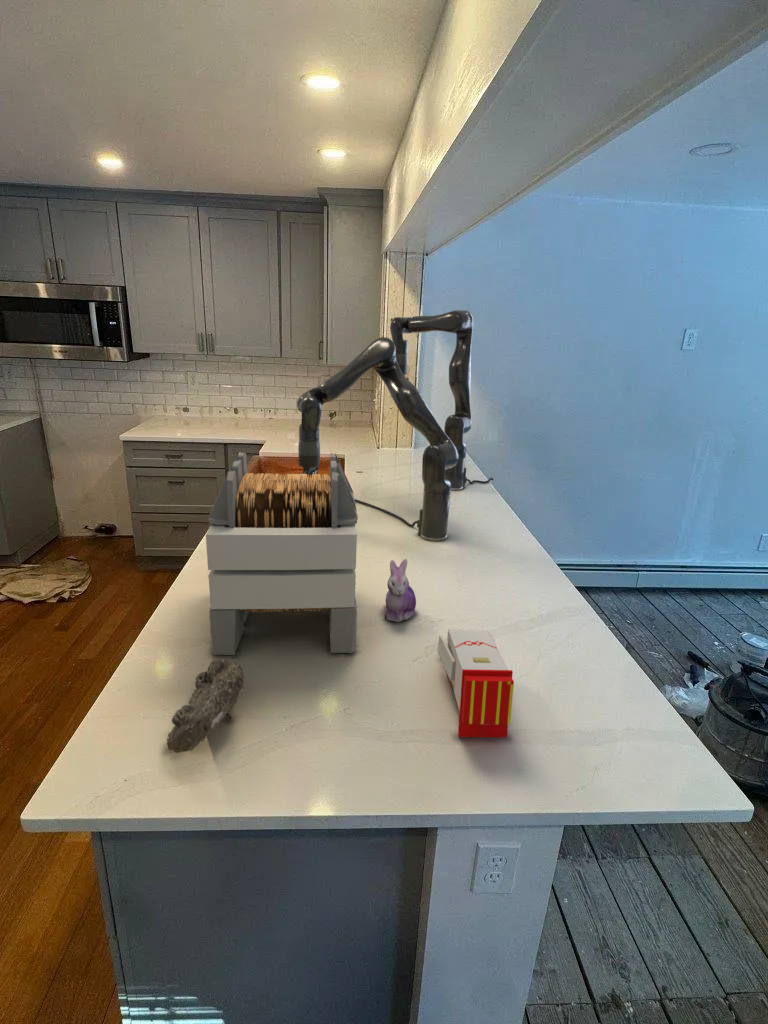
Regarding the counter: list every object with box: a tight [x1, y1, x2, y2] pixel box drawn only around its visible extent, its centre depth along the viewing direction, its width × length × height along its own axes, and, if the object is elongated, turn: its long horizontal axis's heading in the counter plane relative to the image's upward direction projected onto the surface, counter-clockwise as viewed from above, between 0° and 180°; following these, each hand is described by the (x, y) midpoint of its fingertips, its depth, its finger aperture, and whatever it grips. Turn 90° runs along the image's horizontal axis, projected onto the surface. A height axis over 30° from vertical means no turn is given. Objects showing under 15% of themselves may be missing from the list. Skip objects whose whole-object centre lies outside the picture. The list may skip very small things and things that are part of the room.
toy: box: [437, 628, 515, 738], centre depth 117 cm, size 12×13×30 cm
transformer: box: [205, 451, 358, 657], centre depth 136 cm, size 34×33×41 cm
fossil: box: [166, 658, 245, 754], centre depth 106 cm, size 22×10×15 cm
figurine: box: [384, 558, 417, 623], centre depth 145 cm, size 9×10×15 cm
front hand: (309, 498), depth 205 cm, fingers closed on canister, 5 cm apart
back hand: (397, 398), depth 266 cm, fingers open, 8 cm apart
